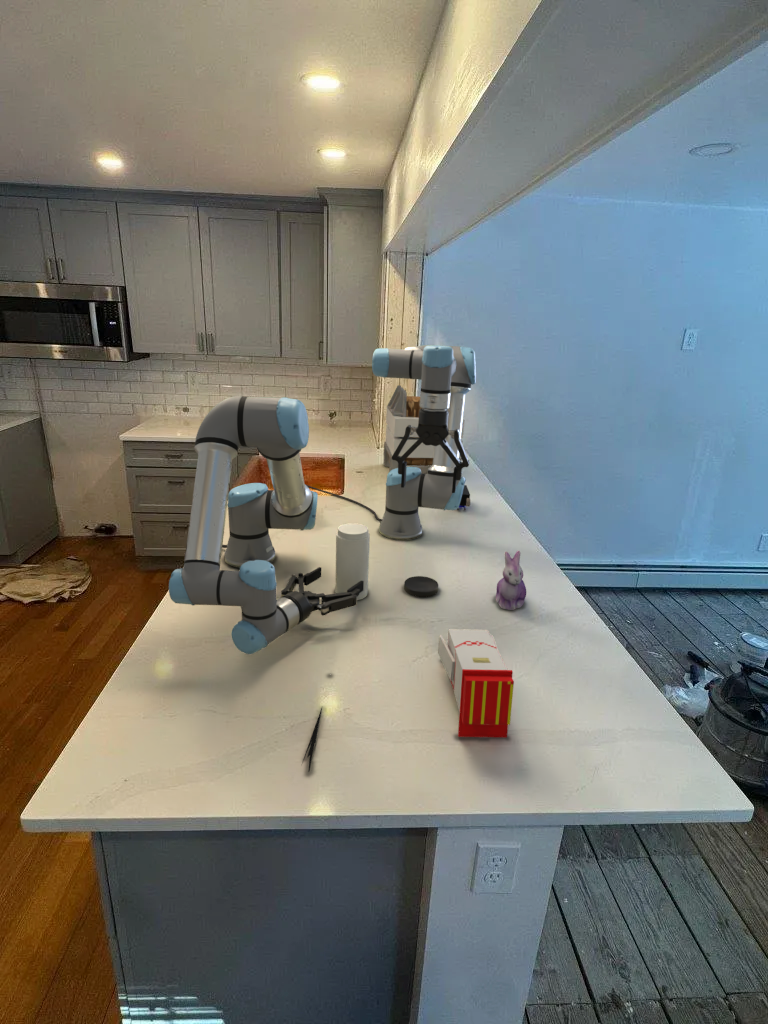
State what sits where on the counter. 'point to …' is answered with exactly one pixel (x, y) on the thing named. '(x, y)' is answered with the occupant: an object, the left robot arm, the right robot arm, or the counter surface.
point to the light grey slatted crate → (398, 418)
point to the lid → (421, 586)
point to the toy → (478, 682)
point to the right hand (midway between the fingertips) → (428, 488)
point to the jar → (352, 557)
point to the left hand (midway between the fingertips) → (340, 578)
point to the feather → (313, 740)
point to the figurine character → (465, 498)
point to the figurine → (511, 584)
